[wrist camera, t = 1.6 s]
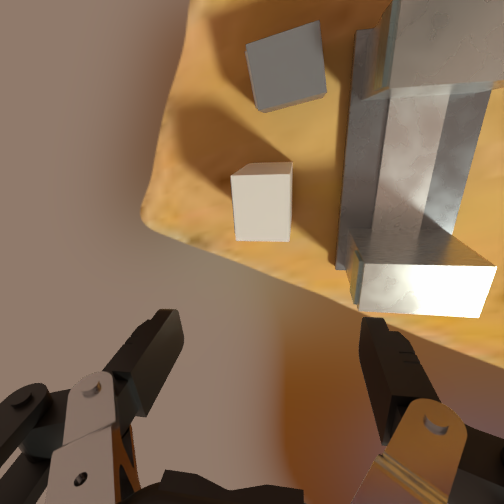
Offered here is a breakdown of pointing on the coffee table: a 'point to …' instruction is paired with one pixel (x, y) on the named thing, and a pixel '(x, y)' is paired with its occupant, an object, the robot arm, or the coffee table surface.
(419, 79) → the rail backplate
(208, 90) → the coffee table surface
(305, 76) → the block
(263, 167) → the block
